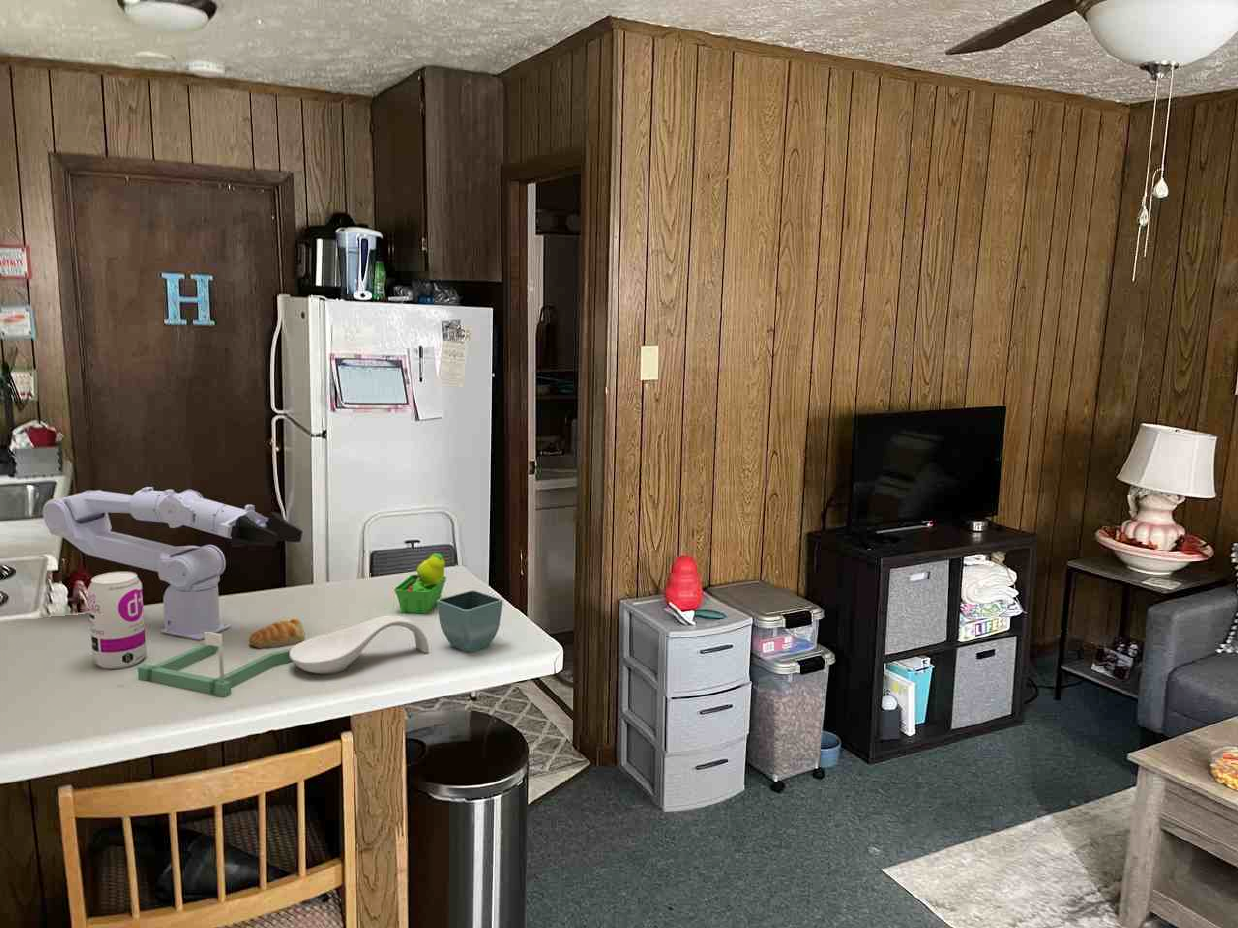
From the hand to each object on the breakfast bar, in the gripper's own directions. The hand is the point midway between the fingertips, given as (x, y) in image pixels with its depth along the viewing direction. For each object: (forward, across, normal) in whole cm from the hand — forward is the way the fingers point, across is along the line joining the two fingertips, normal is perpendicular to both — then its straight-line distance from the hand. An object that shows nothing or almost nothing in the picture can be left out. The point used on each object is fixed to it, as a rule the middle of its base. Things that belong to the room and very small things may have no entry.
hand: (288, 538), depth 176 cm
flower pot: (+34, +12, +13) cm, 38 cm away
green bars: (-1, -11, +22) cm, 25 cm away
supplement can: (-19, -13, +26) cm, 35 cm away
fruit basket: (+15, +30, +14) cm, 36 cm away
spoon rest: (+19, 0, +18) cm, 26 cm away
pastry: (0, +4, +20) cm, 21 cm away
